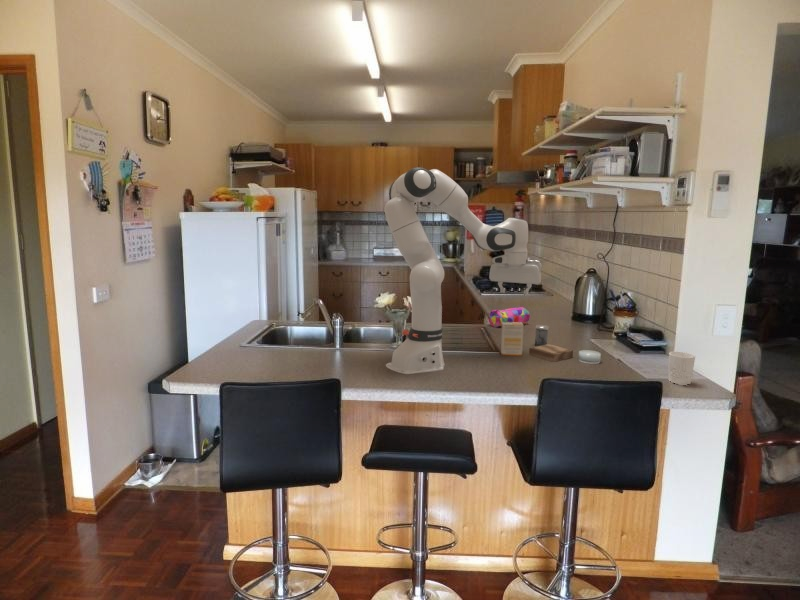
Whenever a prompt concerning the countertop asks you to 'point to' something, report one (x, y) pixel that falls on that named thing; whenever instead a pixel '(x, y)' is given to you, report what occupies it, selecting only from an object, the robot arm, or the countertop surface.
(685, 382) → the white cup
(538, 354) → the podium
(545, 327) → the spice tin
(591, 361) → the ramekin
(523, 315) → the pencil case
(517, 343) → the supplement box
